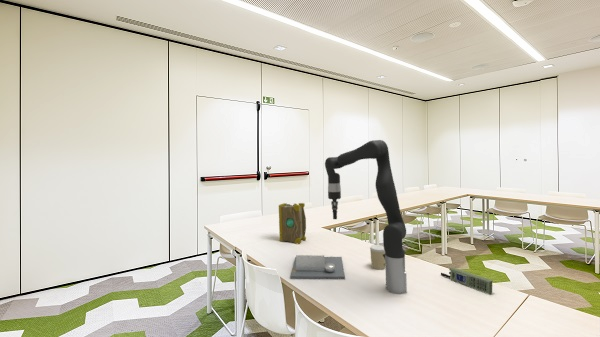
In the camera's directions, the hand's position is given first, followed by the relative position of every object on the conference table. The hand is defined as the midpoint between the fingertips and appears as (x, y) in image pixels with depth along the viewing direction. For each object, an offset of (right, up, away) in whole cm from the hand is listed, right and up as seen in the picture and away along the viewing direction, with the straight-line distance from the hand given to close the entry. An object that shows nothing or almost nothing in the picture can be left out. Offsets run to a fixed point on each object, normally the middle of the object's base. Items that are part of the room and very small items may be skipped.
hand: (335, 217), depth 169 cm
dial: (-12, -29, -7) cm, 32 cm away
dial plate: (-10, -30, 0) cm, 32 cm away
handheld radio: (+63, -30, -25) cm, 74 cm away
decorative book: (-27, -29, +56) cm, 68 cm away
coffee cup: (+26, -30, -1) cm, 39 cm away
